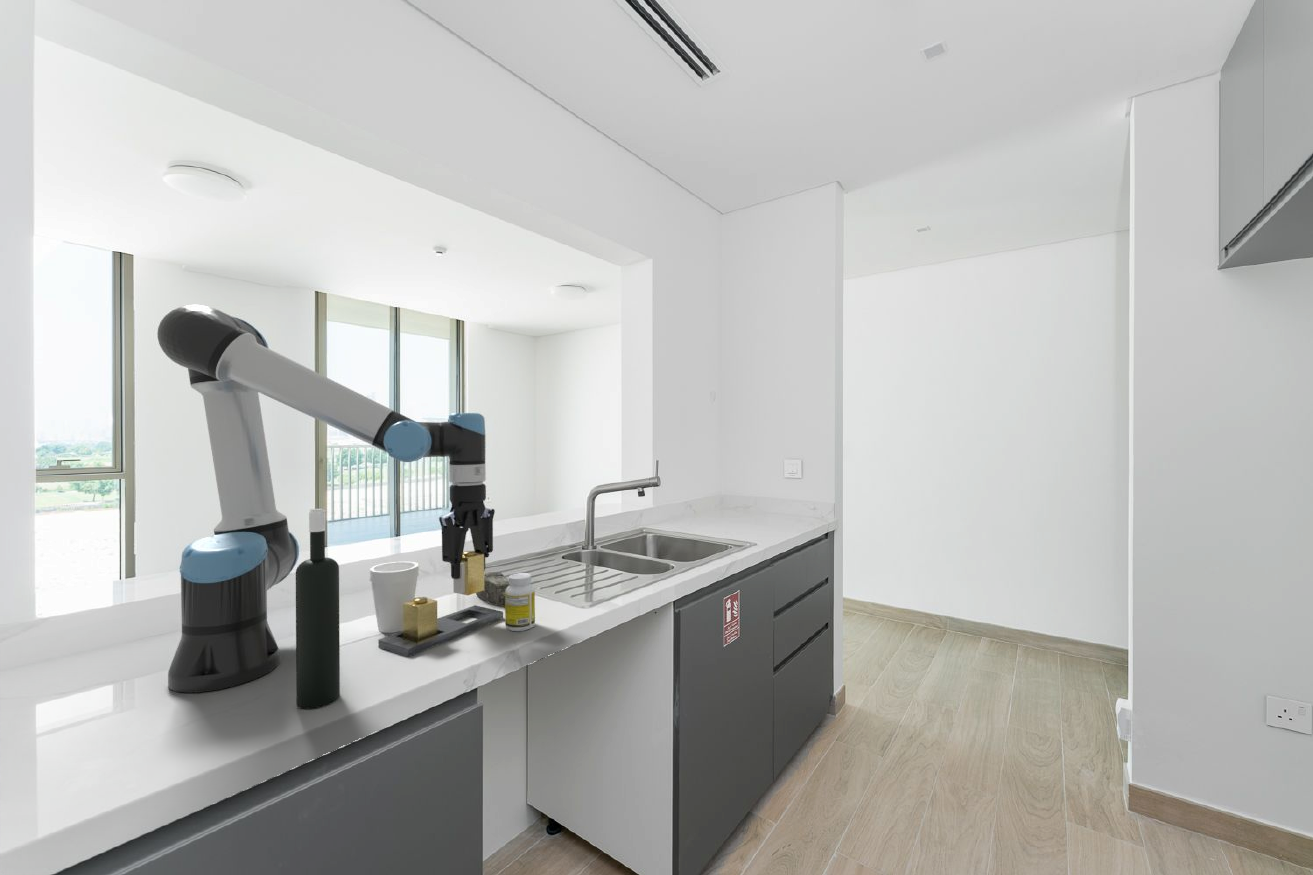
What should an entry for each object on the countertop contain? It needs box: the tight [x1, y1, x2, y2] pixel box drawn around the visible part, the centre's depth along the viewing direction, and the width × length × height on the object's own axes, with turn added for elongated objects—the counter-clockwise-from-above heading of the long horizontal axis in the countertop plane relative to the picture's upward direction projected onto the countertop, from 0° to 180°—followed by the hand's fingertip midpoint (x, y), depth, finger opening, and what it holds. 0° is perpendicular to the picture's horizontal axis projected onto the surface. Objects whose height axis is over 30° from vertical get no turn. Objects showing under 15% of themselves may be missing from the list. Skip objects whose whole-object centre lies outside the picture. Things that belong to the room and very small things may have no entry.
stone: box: [475, 571, 510, 607], centre depth 136 cm, size 14×7×10 cm, turn 56°
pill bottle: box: [504, 572, 536, 632], centre depth 117 cm, size 6×6×11 cm
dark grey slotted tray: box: [377, 605, 504, 658], centre depth 114 cm, size 24×9×2 cm, turn 150°
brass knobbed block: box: [457, 550, 485, 596], centre depth 119 cm, size 4×4×9 cm
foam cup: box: [369, 560, 420, 634], centre depth 117 cm, size 10×9×13 cm
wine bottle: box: [295, 507, 341, 710], centre depth 85 cm, size 6×6×30 cm
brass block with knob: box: [402, 596, 438, 643], centre depth 109 cm, size 4×4×9 cm
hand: (468, 589), depth 119 cm, fingers closed on brass knobbed block, 4 cm apart
